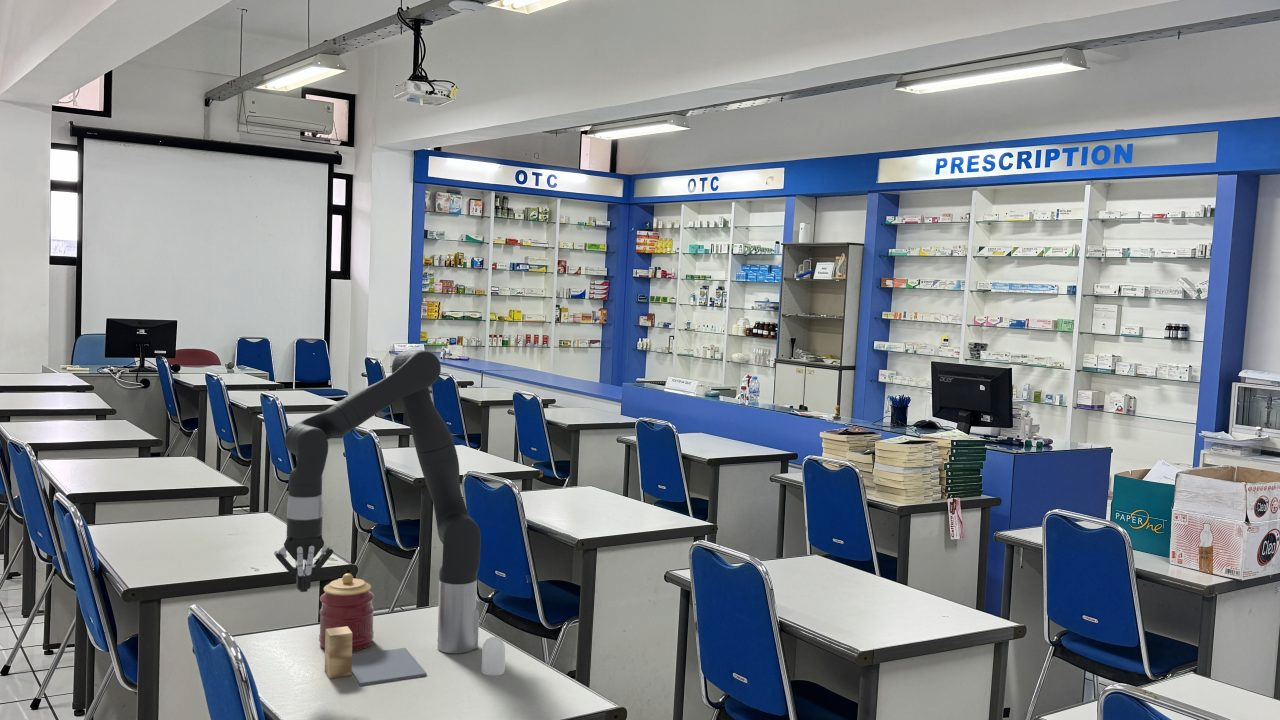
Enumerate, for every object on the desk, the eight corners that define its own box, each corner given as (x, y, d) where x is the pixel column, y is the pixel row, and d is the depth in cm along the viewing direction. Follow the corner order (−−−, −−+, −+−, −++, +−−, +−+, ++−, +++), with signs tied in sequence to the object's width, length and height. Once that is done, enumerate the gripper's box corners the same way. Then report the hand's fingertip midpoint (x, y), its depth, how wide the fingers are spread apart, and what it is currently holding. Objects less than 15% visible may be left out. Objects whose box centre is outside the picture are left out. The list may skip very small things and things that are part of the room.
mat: (405, 650, 249) (405, 647, 249) (426, 675, 233) (426, 673, 233) (342, 658, 241) (342, 656, 241) (359, 685, 226) (359, 683, 226)
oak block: (346, 668, 236) (347, 626, 235) (351, 675, 231) (352, 632, 231) (324, 671, 233) (325, 628, 233) (329, 679, 229) (329, 635, 228)
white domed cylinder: (508, 673, 236) (509, 639, 236) (486, 676, 234) (487, 642, 233) (499, 665, 241) (500, 632, 240) (478, 669, 238) (478, 635, 238)
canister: (376, 634, 259) (377, 566, 258) (369, 652, 246) (371, 581, 245) (323, 635, 257) (325, 566, 256) (314, 653, 244) (315, 581, 243)
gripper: (331, 509, 232) (330, 583, 234) (271, 513, 226) (269, 589, 227) (338, 516, 226) (336, 592, 227) (276, 520, 220) (274, 599, 221)
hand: (303, 591), depth 227 cm, fingers closed
